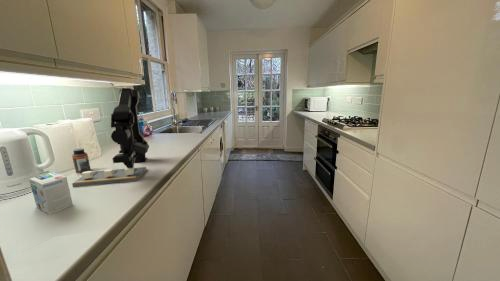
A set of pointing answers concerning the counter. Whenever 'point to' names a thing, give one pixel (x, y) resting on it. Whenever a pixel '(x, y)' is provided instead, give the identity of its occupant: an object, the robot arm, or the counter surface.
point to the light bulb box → (51, 192)
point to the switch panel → (116, 178)
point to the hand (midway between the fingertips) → (131, 171)
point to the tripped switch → (129, 171)
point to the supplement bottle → (80, 160)
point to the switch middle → (108, 173)
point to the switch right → (87, 174)
